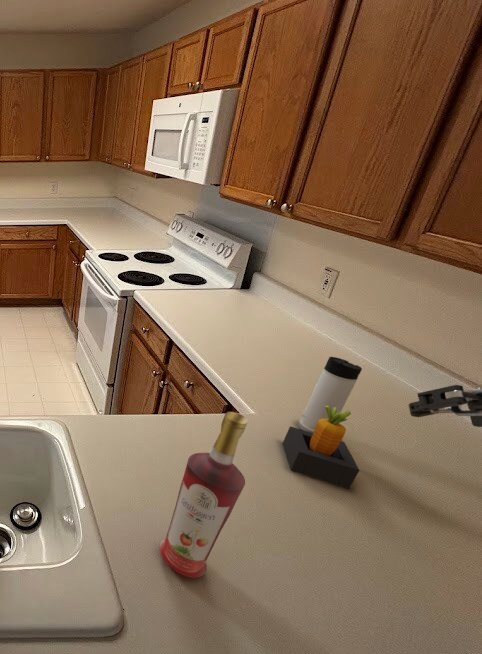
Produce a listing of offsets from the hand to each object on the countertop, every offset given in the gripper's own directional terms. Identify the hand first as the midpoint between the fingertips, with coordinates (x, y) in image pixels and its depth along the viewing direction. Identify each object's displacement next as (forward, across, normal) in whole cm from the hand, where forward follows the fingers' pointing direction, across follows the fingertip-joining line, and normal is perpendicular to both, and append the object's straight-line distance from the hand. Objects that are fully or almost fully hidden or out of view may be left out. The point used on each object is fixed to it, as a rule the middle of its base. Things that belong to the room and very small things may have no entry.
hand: (442, 415), depth 65 cm
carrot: (+30, +1, +6) cm, 31 cm away
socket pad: (+30, +1, +6) cm, 31 cm away
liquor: (+7, +37, +29) cm, 48 cm away
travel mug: (+41, -6, -4) cm, 41 cm away
